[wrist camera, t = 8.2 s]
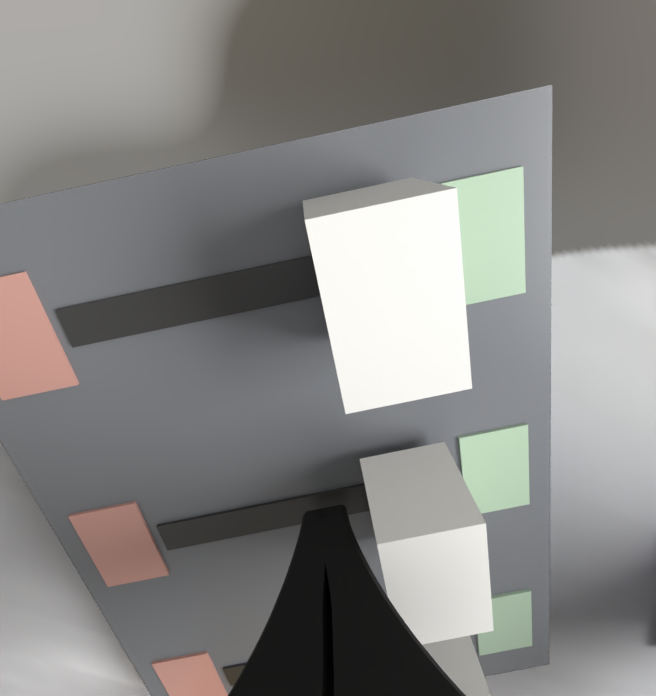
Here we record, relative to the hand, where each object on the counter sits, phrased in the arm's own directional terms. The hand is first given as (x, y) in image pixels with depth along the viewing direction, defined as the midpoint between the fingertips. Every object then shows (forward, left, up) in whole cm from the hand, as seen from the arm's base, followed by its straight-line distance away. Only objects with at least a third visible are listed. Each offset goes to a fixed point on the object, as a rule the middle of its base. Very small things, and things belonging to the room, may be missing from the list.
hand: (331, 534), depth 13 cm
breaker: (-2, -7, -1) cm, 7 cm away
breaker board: (+1, 0, -3) cm, 3 cm away
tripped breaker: (-2, 0, -1) cm, 2 cm away
